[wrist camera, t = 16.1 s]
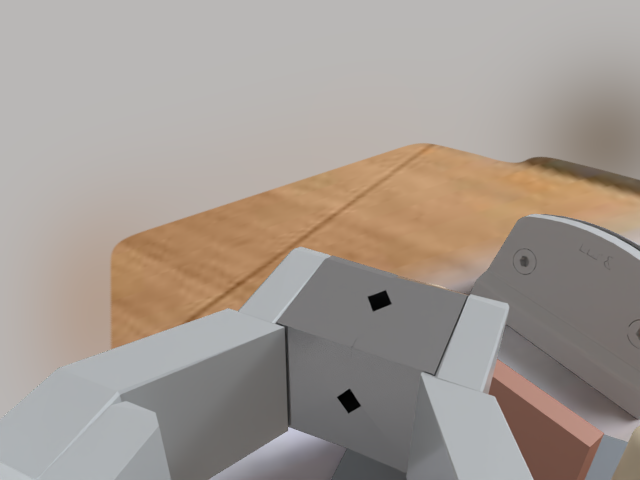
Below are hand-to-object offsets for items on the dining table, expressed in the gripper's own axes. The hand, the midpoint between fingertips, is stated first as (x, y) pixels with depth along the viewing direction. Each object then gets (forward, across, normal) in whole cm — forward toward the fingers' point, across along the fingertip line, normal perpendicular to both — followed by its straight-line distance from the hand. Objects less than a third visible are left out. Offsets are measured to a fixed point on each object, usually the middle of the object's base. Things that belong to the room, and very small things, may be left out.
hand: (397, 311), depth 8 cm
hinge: (+35, -5, +28) cm, 46 cm away
